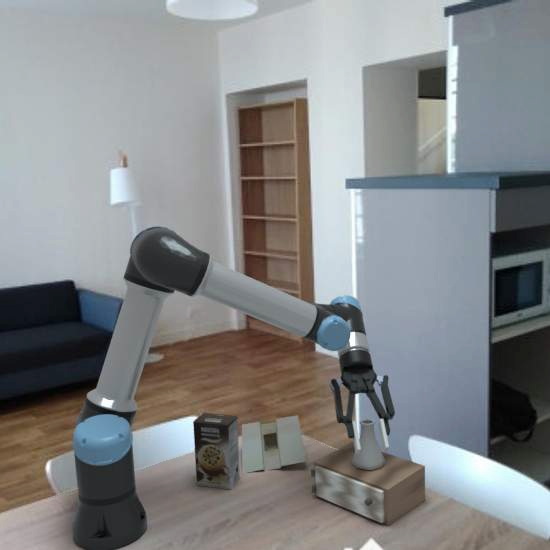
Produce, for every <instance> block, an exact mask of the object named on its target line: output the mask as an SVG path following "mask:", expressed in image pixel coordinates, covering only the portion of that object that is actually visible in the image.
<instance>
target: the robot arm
mask: <svg viewBox="0 0 550 550" xmlns="http://www.w3.org/2000/svg"><path fill="white" fill-rule="evenodd" d="M129 255H130V256H129V259H128V262H127V265H126V269H125V271H124V275H123V278H122V279H123V281H124V284H125V285H126V288H127V289H126V292H125V295H124V299H123V302H122V305H121V308H120V311H119V314H118V317H117V322H116V324H115V327H114V331H113V333H112V337H111V340H110V344H109V347H108V350H107V353H106V357H105V359H104V363H103V365H102V370H101V372H100V374H99V375H100V376H99V378H98V382H97V384H96V387H95V388H94V389H92V390H90V391H89V392H87V394H86V397H85V400H84V404H83V406H82V409H81V410H80V411H79V414H78V415H77V417H76V421H75V422H76V423H75V428H74V429H73V435H72V442H71V443H72V450H73V453H74V454H73V455H74V463H75V464H74V466H75V473H76V486H77V495H78V502H77V506H76V511H75V515H74V518H73V523H72V537H73V539H72V540H73V541H74V543H75V544H76V545H77V546H79V547H81V548H82V549H86V550H115V549H119V548H123V547H125V546H127V545H130V544H131V543H133V542H135V541H137V540H138V539H139V538H140V537H142V536H143V535H144V533H145V532H146V530H147V527H148V517H147V512H146V509H145V507H144V505H143V503H142V501H141V498H140V497H139V494H138V492H137V487H136V474H135V472H136V471H135V459H134V450H133V448H134V447H133V441H134V440H133V437H134V436H133V431H132V428H133V427H132V426H133V423H134V420H135V417H136V414H137V411H138V408H139V407H138V404H137V402H136V400H135V399H134V398H135V395H136V392H137V388H138V385H139V382H140V379H141V375H142V373H143V369H144V366H145V364H146V359H147V357H148V354H149V351H150V347H151V344H152V341H153V338H154V334H155V331H156V328H157V325H158V322H159V318H160V315H161V312H162V309H163V306H164V303H165V300H166V299H167V298H168V297H171V296H173V295H174V294H175V291H176V292H178V293H182V294H183V295H187V296H189V297H191V298H193V297H196V296H198V295H199V296H202V297H204V298H207V299H209V300H211V301H214V302H216V303H219V304H221V305H223V306H226V307H228V308H231V309H233V310H236V311H238V312H240V313H243V314H245V315H247V316H250V317H252V318H255V319H257V320H260V321H262V322H265V323H266V324H269V325H272V326H274V327H277V328H279V329H282V330H284V331H286V332H289V333H291V334H293V335H296V336H298V337H300V338H303V339H305V340H307V341H310V342H312V343H315V344H316V345H318V346H320V347H321V348H322V349H325V350H327V351H329V352H337V357H338V361H339V368H340V374H341V375H340V377H339V378H337V379H336V378H331V381H330V384H329V388H330V389H331V391H332V393H333V400H334V408H335V409H334V410H335V416H336V422H337V424H343V425H345V428H346V433H347V437H348V439H352V440H353V441H352V442H354V447H355V453H356V454H359V453H360V450H361V447H360V441H359V439H360V435H359V432H358V431H359V430H358V426H357V421H356V420H353V415H354V406H355V398H356V396H355V395H358V394H365V395H366V397H367V398H368V399H369V401H370V403H371V405H372V407H373V409H374V411H375V413H376V415H377V416H378V417H377V418H379V420H378V423H377V426H378V430H379V436H380V441H381V447H382V450H383V451H382V452H384V453H388V450H389V449H390V445H389V440H388V436H390V433H391V428H390V422H389V421H390V420H393V419H394V417H395V415H396V411H395V406H394V404H393V399H392V396H391V392H390V387H389V378H390V377H389V376H388V375H387V374H384V376H381V375H378V374H377V373H376V372H375V371H374V366H373V360H372V357H371V356H372V355H371V353H370V352H371V351H370V346H369V342H368V338H367V331H366V328H365V323H364V315H363V312H362V308H361V305H360V302H359V301H358V298H356V297H355V296H352V295H342V296H341V295H339V296H337V297H334V298H333V299H332V300H331V302H330V303H329V304H327V303H326V304H325V303H319V302H318V303H315V302H307V301H304V300H303V299H300V298H297V297H296V296H293V295H291V294H289V293H287V292H284V291H282V290H280V289H278V288H275V287H273V286H270V285H268V284H266V283H264V282H261V281H259V280H256V279H255V278H253V277H250V276H247V275H245V274H244V273H241V272H238V271H236V270H234V269H232V268H229V267H228V266H225V265H222V264H221V263H218V262H216V261H214V260H213V257H212V255H211V254H210V253H208V252H205V251H203V250H201V249H199V248H197V247H196V246H194V245H193V244H191V243H190V242H188V241H187V240H185V239H184V238H183V237H182V236H180V235H179V234H177V232H176V231H174V230H173V229H170V228H168V227H165V226H162V225H161V226H159V225H158V226H149V227H147V228H145V229H143V230H141V231H140V232H139V233H137V235H136V236H135V237H134V238H133V240H132V242H131V245H130V249H129ZM375 383H377V385H378V386H379V387H380V391H381V392H380V393H381V396H382V401H383V404H384V406H383V404H382V402H381V400H380V398H379V395H378V394H377V393H376V390H375V386H374V385H375ZM342 385H343V386H344V387H345V388H346V389H347V390H348V399H347V406H346V415H344V410H343V402H342V401H343V400H342V395H341V394H342V393H341V387H342Z"/></svg>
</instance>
